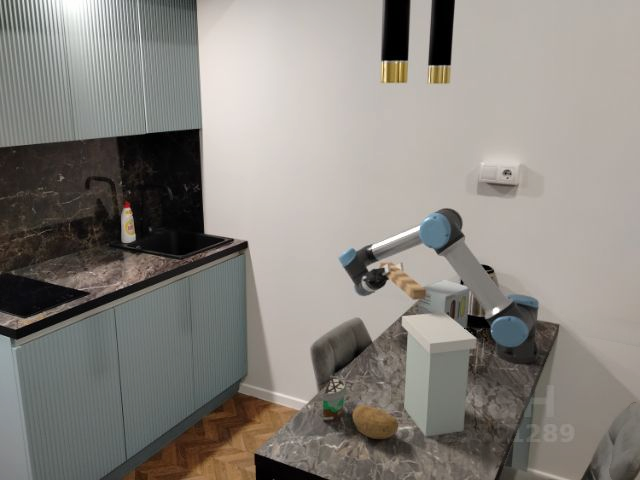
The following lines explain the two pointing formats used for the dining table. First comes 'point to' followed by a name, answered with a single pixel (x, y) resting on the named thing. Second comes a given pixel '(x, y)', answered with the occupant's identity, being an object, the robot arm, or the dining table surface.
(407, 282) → the oak slat
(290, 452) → the dining table surface
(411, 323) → the box
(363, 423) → the potato
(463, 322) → the supplement box
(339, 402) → the food container
